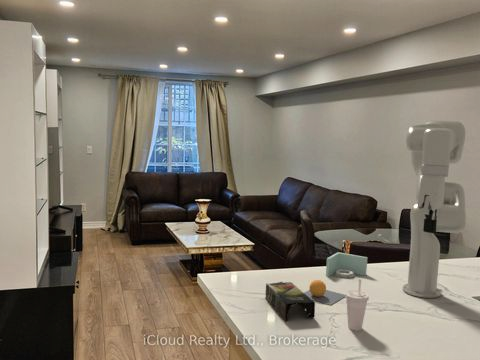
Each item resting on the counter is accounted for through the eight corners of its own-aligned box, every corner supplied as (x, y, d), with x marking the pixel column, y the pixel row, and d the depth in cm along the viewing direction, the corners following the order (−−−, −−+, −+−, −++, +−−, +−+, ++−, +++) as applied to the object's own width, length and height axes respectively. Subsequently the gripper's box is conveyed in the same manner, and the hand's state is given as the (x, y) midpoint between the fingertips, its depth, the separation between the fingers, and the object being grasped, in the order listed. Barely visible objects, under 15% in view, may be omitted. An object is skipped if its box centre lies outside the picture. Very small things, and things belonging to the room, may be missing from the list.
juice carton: (262, 298, 153) (263, 280, 153) (290, 296, 156) (291, 278, 155) (284, 323, 134) (285, 303, 133) (315, 321, 137) (317, 301, 136)
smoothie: (367, 333, 128) (370, 284, 126) (343, 331, 129) (346, 281, 128) (365, 324, 134) (369, 277, 133) (343, 322, 135) (346, 274, 134)
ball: (330, 282, 156) (325, 297, 157) (315, 275, 159) (311, 290, 160) (324, 286, 152) (320, 301, 153) (309, 279, 154) (305, 294, 155)
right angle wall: (325, 277, 179) (326, 258, 178) (336, 270, 189) (337, 252, 188) (356, 283, 173) (357, 264, 172) (366, 276, 183) (367, 257, 182)
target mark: (315, 287, 165) (315, 287, 165) (346, 295, 158) (346, 295, 158) (297, 296, 155) (297, 295, 155) (330, 305, 148) (330, 304, 148)
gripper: (429, 168, 146) (424, 226, 148) (412, 171, 134) (408, 234, 136) (455, 170, 141) (449, 230, 143) (440, 173, 130) (434, 238, 132)
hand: (429, 231), depth 140 cm, fingers closed
